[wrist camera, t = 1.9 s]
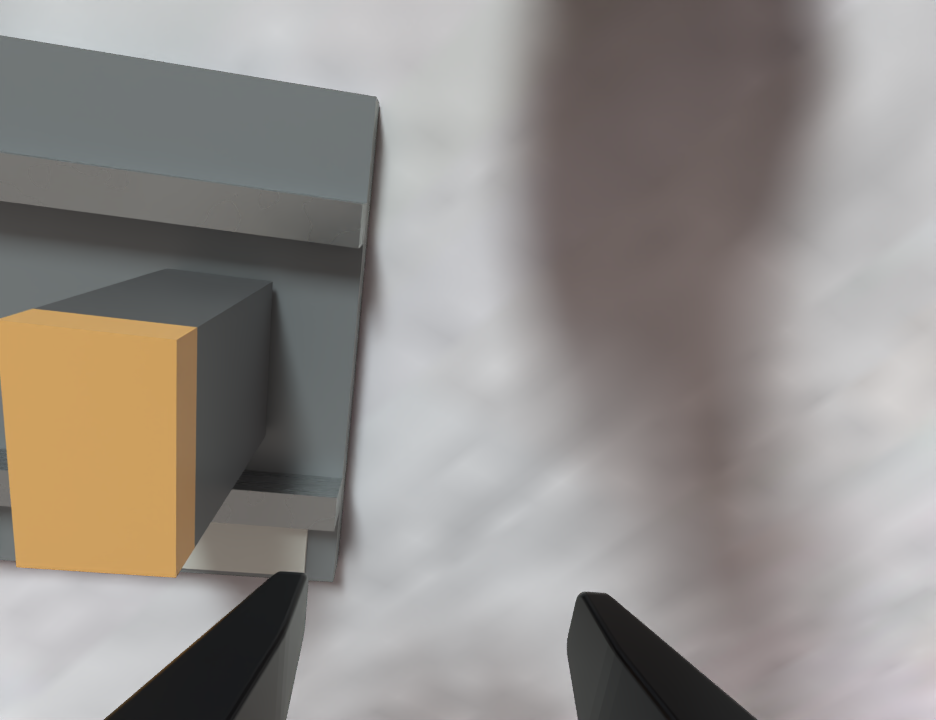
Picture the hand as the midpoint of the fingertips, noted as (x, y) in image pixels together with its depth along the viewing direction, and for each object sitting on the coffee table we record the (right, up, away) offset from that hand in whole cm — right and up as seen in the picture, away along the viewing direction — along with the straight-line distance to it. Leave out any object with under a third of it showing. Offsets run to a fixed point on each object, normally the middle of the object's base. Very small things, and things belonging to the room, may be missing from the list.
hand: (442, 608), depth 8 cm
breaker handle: (-7, +4, +9) cm, 12 cm away
